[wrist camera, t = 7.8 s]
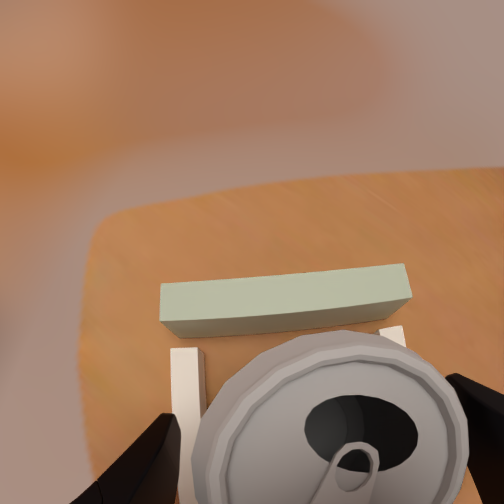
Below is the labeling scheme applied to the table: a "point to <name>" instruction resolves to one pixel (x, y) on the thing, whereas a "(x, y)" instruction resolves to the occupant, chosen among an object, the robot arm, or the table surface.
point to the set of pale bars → (265, 325)
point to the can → (332, 427)
